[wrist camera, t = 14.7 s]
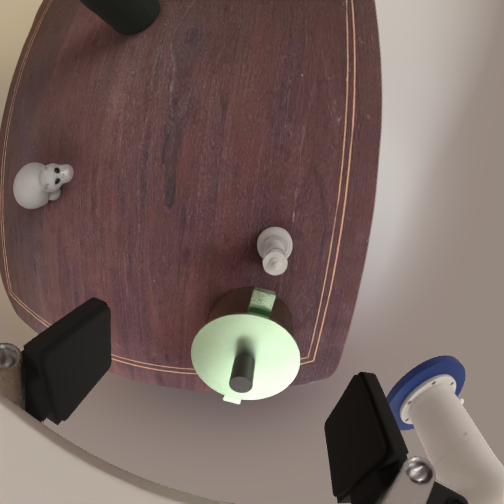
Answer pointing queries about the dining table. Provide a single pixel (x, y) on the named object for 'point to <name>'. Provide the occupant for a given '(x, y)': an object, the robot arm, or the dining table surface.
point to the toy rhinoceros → (40, 183)
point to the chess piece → (274, 249)
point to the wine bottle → (125, 13)
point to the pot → (253, 309)
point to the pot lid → (245, 355)
